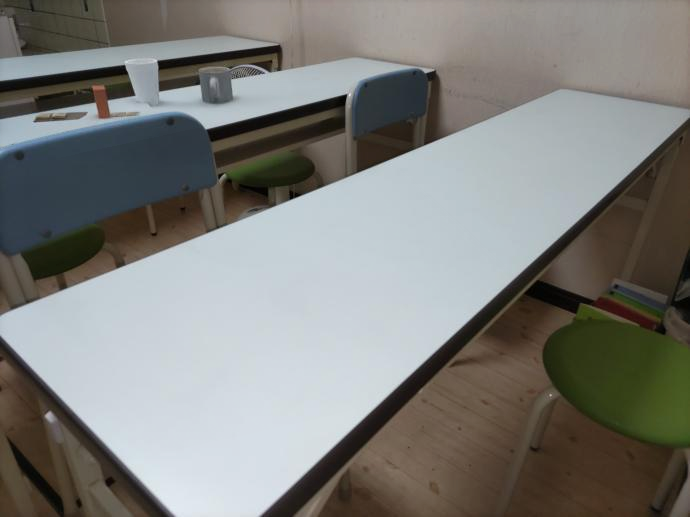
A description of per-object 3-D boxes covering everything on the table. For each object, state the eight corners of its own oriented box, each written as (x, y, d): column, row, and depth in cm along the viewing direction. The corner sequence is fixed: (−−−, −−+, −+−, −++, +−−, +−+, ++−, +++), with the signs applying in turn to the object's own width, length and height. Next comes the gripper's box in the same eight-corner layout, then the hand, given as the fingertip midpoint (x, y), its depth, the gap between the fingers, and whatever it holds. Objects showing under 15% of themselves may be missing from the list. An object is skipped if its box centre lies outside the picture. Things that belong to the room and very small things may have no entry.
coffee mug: (208, 97, 174) (204, 66, 168) (236, 98, 173) (233, 67, 168) (194, 107, 162) (190, 74, 157) (225, 108, 161) (221, 75, 156)
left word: (34, 124, 141) (32, 119, 140) (40, 116, 147) (38, 111, 146) (85, 122, 144) (84, 117, 143) (89, 115, 150) (87, 109, 150)
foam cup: (127, 104, 162) (118, 61, 156) (153, 99, 168) (146, 57, 162) (143, 109, 157) (135, 65, 150) (170, 103, 163) (163, 61, 157)
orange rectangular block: (99, 119, 144) (93, 90, 140) (98, 114, 148) (92, 86, 143) (111, 118, 145) (105, 89, 141) (109, 113, 149) (103, 85, 145)
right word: (94, 124, 143) (92, 118, 142) (97, 116, 149) (96, 111, 149) (139, 122, 146) (138, 116, 145) (140, 114, 153) (139, 109, 152)
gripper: (94, -43, 155) (108, 17, 152) (-1, -46, 145) (12, 18, 142) (91, -64, 148) (106, -2, 145) (-9, -68, 139) (5, -2, 135)
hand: (59, 8), depth 143 cm, fingers open, 13 cm apart
